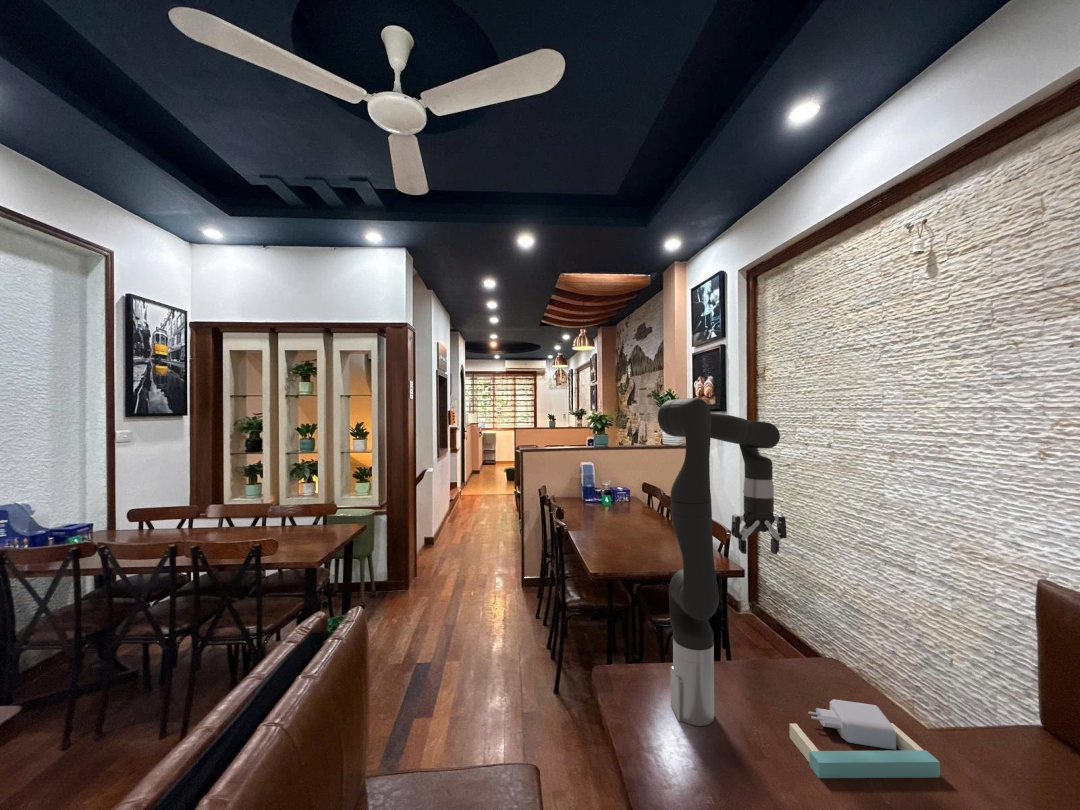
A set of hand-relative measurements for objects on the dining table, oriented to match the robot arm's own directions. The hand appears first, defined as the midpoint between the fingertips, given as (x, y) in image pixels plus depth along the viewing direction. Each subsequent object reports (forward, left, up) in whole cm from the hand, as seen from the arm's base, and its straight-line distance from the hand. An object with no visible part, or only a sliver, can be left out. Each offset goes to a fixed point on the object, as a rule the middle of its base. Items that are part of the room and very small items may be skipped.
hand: (758, 553), depth 123 cm
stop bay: (+6, -29, -33) cm, 45 cm away
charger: (+9, -22, -34) cm, 41 cm away
